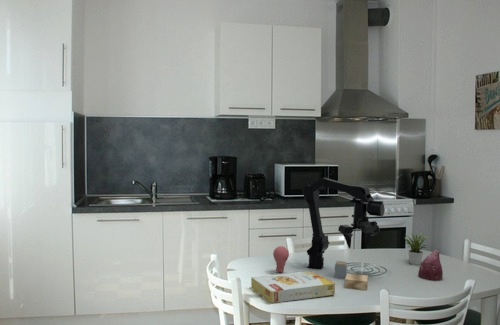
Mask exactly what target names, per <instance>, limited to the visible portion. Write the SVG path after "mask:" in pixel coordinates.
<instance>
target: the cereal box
mask: <svg viewBox="0 0 500 325" xmlns="http://www.w3.org/2000/svg"><path fill="white" fill-rule="evenodd" d="M250 278H251V279H250V280H251V281H250V282H251V284H250V285H251V287H250V289H252V290H253V291H255V292H256V293H257V294H258V295H260V296H261V297H263V298H264V299H265V300H267V301H268V302H269V303H271V304H276V303H283V302H284V303H285V302H291V301H292V302H293V301H298V300H305V299H306V300H307V299H312V298H313V299H314V298H318V297H319V298H320V297H328V296H334V295H335V293H336V289H335V288H336V286H335V285H336V282H333V281H331V280H329V279H327V278H325V277H324V276H321V275H319V274H318V273H315V272H313V271H310V270H309V271H302V272H299V271H298V272H292V273H291V272H290V273H281V274H273V275H272V274H271V275H269V274H268V275H261V276H252V277H250Z"/></svg>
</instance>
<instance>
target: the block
mask: <svg viewBox="0 0 500 325" xmlns="http://www.w3.org/2000/svg"><path fill="white" fill-rule="evenodd" d="M368 284H369V275H367V274H364V275H363V274H356V273H348V272H347V275H346V278H345V279H344V289H350V288H352V290H359V289H362V291H368Z"/></svg>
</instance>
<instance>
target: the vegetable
mask: <svg viewBox="0 0 500 325" xmlns="http://www.w3.org/2000/svg"><path fill="white" fill-rule="evenodd" d="M440 260H441V258H440V249H439V248H437V249H434V250H433V251H432V252H431V253H429V255H427V256H426V257H425V258H424V259H422V261H421V264H420V265H419V269H418V273H417V276H418V278H420V279H423V280H427V281H432V282H439V281H441V280H443V275H444V274H443V267H442V264H441V261H440Z"/></svg>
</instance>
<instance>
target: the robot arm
mask: <svg viewBox="0 0 500 325" xmlns="http://www.w3.org/2000/svg"><path fill="white" fill-rule="evenodd" d="M325 188H329V189H332V190H336V191H339V192H341V193H345V194H348V195H349V196H350V197H353V198H352V199H350V200H349V203H350V204H351V203H352V204H354V206H353V214H351V218H353V219H352V220H353V221H352V223H351V225H348V224H341V225H339V226H338V232H339V233H341V234H342V235H343V237H344V239H345V242H346V245H347V248H348V249H351V248H352V237H353V235H354V233H353V232H359V231H360V232H363V233H364V245H365V248H368V247H369V244H370V242H371V240H372V238H373V237H374V236H375V235H377V234H378V233H380V230H381V229H380V227H379V225H378V222H377V221H375V220H374V221H373V220H372V221H370V220H369V216H376V217H383V216H384V214H385V210H386V207H385V205H384V200H374V198H373V195H371V193H370V191H371V190H370V188H369V187H368V186H366V185H360V184H349V183H346V182H343V181H338V180H334V179H331V178H329V177H322V178H320V179H318V180H317V181H315V182H313V183H311V184H308V185H305V186H304V187H303V189H302V195H303V198H304V200H305V202H306V203H307V205H308V212H309V218H310V223H311V229H312V238H311V247H310V248H309V249H308V248H307V250H306V254H307V256H308V266H307V268H308V269H317V270H321V269H323V267H324V263H325V257H324V253H325V252H326V250H328V248H329V244H330V240H329V236H328V235H325V233H324V230H323V224H322V219H321V213H320V208H319V201H320V192H321V191H323V190H324V189H325ZM368 214H369V216H367V215H368Z"/></svg>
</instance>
